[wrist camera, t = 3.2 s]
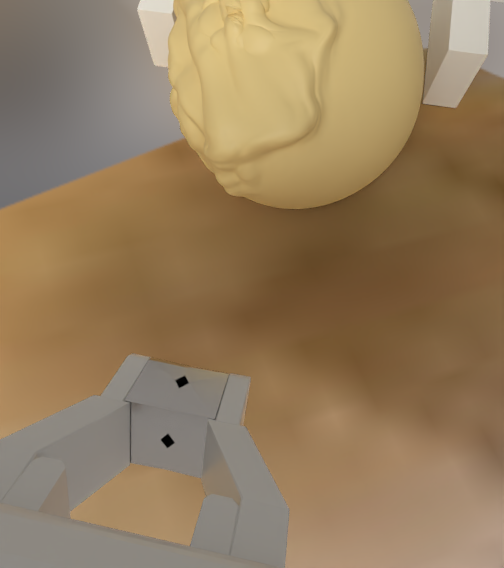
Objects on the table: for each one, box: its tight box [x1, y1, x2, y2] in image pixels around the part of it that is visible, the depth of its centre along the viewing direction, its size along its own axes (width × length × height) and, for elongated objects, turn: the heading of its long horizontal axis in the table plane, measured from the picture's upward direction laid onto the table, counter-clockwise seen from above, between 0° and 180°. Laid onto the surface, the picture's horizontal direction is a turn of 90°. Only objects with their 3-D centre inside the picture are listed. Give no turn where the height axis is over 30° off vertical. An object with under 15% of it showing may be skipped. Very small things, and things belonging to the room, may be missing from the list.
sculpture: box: [168, 0, 424, 209], centre depth 21 cm, size 11×12×11 cm
